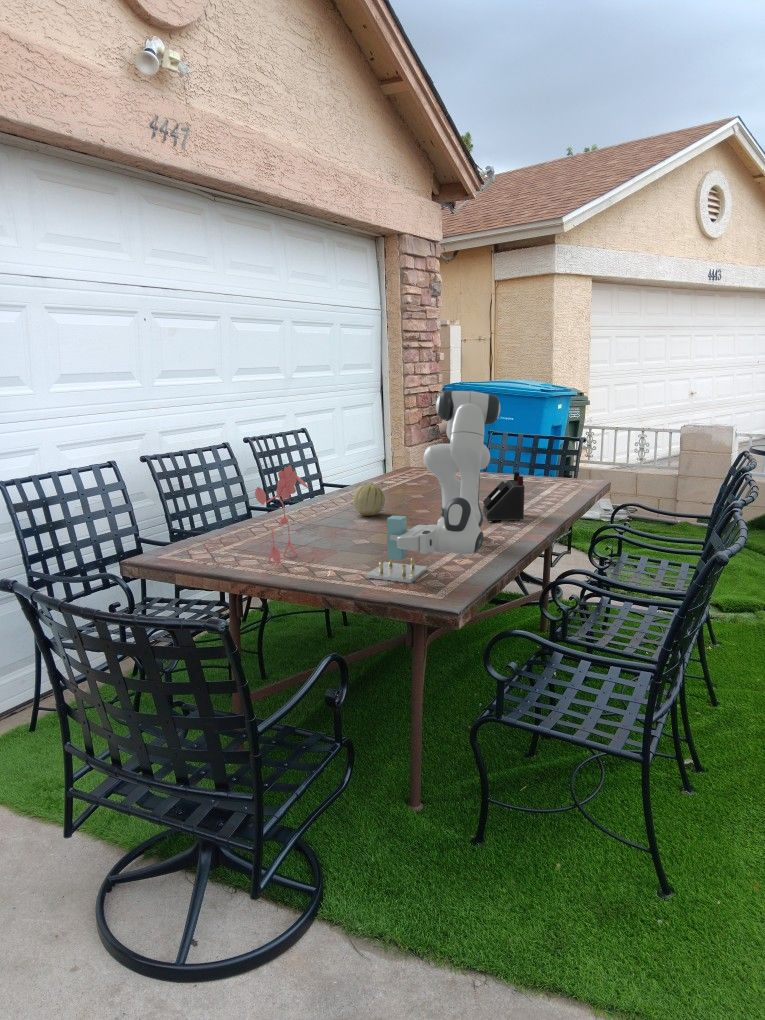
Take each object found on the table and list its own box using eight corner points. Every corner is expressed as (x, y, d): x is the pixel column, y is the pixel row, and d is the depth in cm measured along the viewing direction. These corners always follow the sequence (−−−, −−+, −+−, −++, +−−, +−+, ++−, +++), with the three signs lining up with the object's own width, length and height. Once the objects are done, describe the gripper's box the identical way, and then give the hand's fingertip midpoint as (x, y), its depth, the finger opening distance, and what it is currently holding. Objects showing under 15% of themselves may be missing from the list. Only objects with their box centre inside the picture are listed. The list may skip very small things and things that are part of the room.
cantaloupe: (350, 518, 331) (349, 486, 328) (356, 511, 345) (355, 480, 342) (382, 519, 329) (382, 486, 325) (387, 512, 343) (387, 480, 340)
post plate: (384, 565, 258) (384, 552, 257) (427, 569, 252) (427, 556, 251) (366, 578, 244) (365, 564, 243) (410, 583, 238) (410, 569, 237)
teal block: (393, 555, 250) (392, 515, 247) (406, 556, 248) (406, 516, 245) (387, 559, 246) (386, 518, 243) (401, 560, 244) (400, 519, 241)
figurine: (251, 567, 258) (248, 469, 250) (294, 550, 280) (292, 459, 272) (286, 574, 251) (284, 473, 243) (328, 555, 273) (327, 463, 265)
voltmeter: (482, 514, 335) (482, 471, 330) (518, 514, 334) (519, 471, 330) (485, 523, 319) (486, 477, 315) (523, 522, 318) (524, 477, 314)
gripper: (443, 522, 249) (405, 519, 254) (422, 535, 230) (382, 532, 236) (443, 539, 250) (405, 536, 255) (422, 555, 232) (382, 551, 237)
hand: (394, 534), depth 245 cm, fingers closed on teal block, 5 cm apart
